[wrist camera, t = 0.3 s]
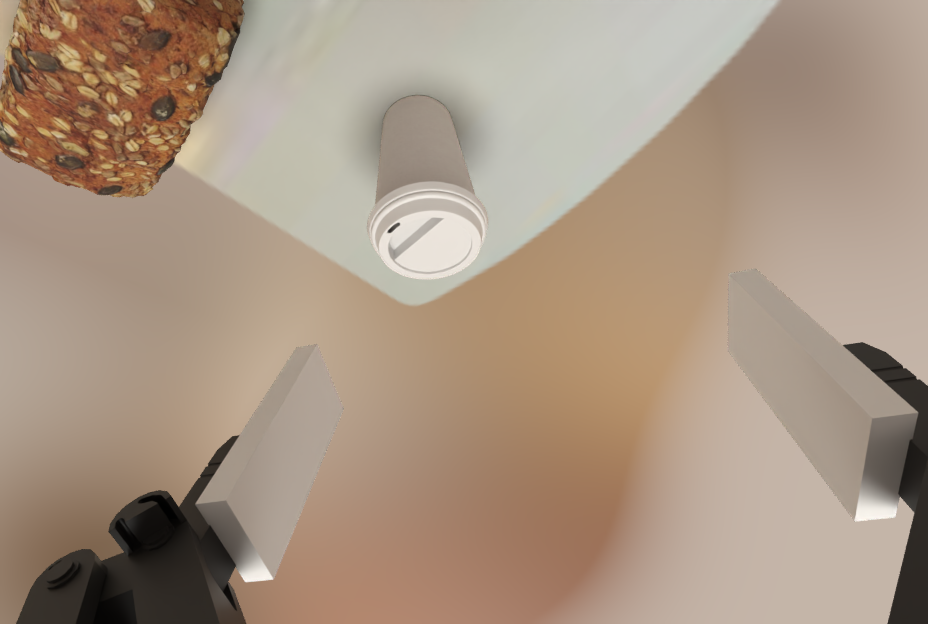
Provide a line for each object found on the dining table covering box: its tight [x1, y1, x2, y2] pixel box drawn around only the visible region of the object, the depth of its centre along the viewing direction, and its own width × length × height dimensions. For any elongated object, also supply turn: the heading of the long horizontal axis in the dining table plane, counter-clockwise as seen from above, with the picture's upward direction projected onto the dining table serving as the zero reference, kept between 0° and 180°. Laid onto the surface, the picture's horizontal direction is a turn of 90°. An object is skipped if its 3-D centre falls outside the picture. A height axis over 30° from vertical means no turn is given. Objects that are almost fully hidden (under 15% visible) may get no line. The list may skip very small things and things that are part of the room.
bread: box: [0, 0, 245, 198], centre depth 36 cm, size 19×11×10 cm, turn 135°
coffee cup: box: [367, 95, 488, 279], centre depth 44 cm, size 10×10×15 cm
